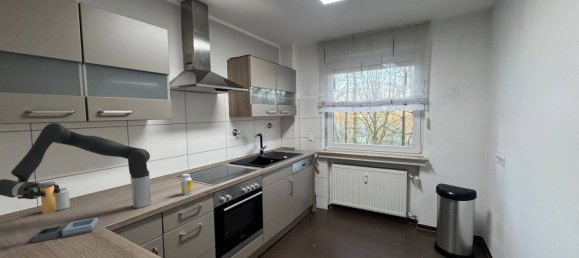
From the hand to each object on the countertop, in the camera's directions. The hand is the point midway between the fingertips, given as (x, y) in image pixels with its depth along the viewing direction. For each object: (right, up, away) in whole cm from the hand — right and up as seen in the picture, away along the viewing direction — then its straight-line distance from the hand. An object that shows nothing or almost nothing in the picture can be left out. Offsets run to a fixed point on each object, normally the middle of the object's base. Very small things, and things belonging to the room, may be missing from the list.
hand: (51, 192), depth 104 cm
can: (-31, -20, +36) cm, 52 cm away
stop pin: (-2, -9, +1) cm, 9 cm away
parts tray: (+8, -19, +6) cm, 22 cm away
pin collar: (-2, -20, +1) cm, 20 cm away
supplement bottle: (+35, -16, +57) cm, 69 cm away
